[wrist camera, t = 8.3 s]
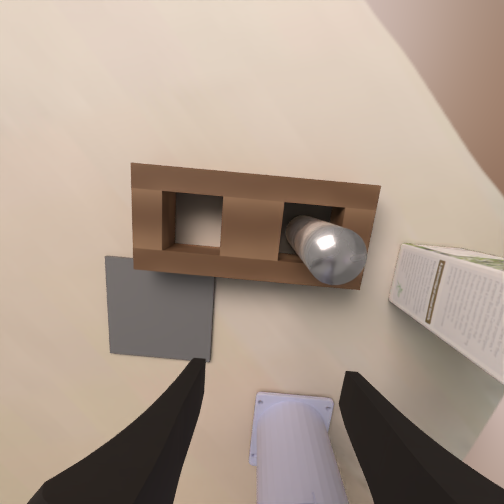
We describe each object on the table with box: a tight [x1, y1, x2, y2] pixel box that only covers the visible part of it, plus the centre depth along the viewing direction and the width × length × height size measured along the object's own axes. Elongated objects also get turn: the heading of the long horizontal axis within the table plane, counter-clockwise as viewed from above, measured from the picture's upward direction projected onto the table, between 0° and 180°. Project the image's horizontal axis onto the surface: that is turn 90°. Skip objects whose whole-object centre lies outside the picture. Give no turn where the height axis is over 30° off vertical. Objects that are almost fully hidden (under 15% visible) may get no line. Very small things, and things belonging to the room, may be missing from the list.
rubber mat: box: [105, 256, 215, 362], centre depth 22 cm, size 10×10×1 cm
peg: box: [286, 215, 367, 285], centre depth 16 cm, size 3×3×9 cm
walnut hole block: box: [131, 163, 381, 290], centre depth 19 cm, size 8×18×3 cm, turn 85°
